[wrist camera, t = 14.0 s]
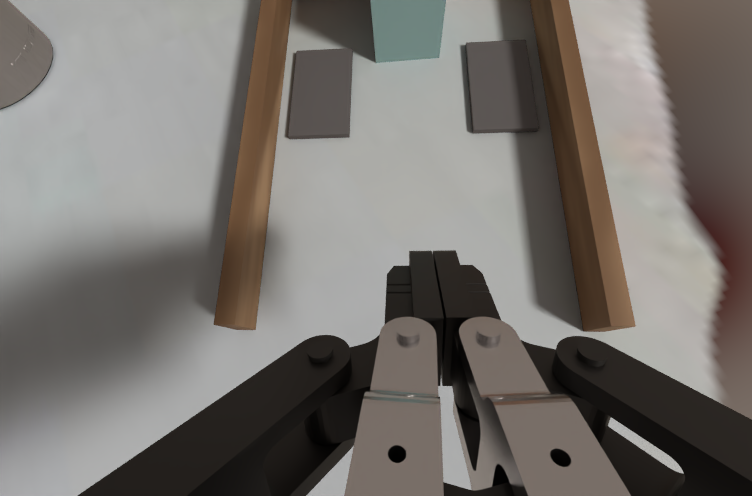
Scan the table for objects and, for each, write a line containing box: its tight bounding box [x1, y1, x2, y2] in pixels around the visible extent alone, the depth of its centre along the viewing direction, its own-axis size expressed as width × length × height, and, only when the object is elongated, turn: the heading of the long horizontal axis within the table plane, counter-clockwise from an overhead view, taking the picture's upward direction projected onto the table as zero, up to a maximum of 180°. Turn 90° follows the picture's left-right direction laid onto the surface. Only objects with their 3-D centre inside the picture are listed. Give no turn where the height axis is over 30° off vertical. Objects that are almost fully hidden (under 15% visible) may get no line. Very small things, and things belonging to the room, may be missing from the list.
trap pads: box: [288, 40, 539, 139], centre depth 28 cm, size 18×8×1 cm, turn 90°
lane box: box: [214, 0, 635, 332], centre depth 24 cm, size 22×29×6 cm
